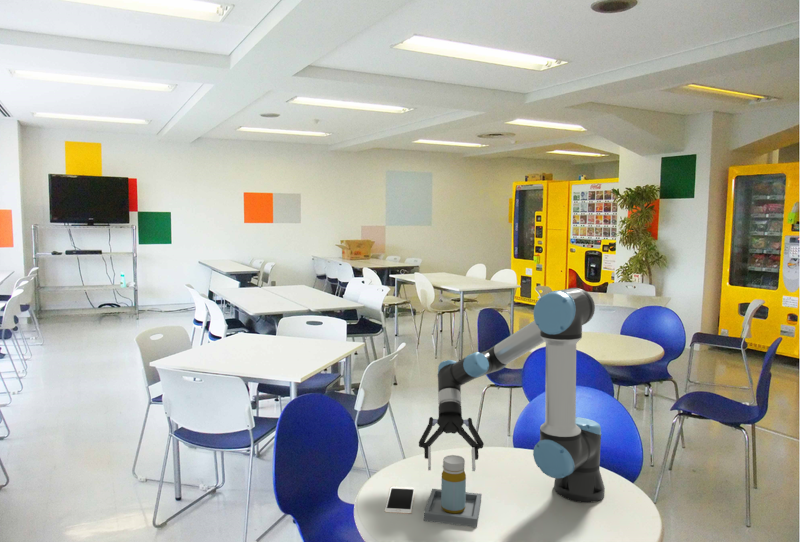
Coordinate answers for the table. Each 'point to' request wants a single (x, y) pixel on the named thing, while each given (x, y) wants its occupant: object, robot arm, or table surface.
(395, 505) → the cell phone
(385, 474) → the table surface
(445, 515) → the tray
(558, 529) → the table surface
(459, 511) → the bottle
